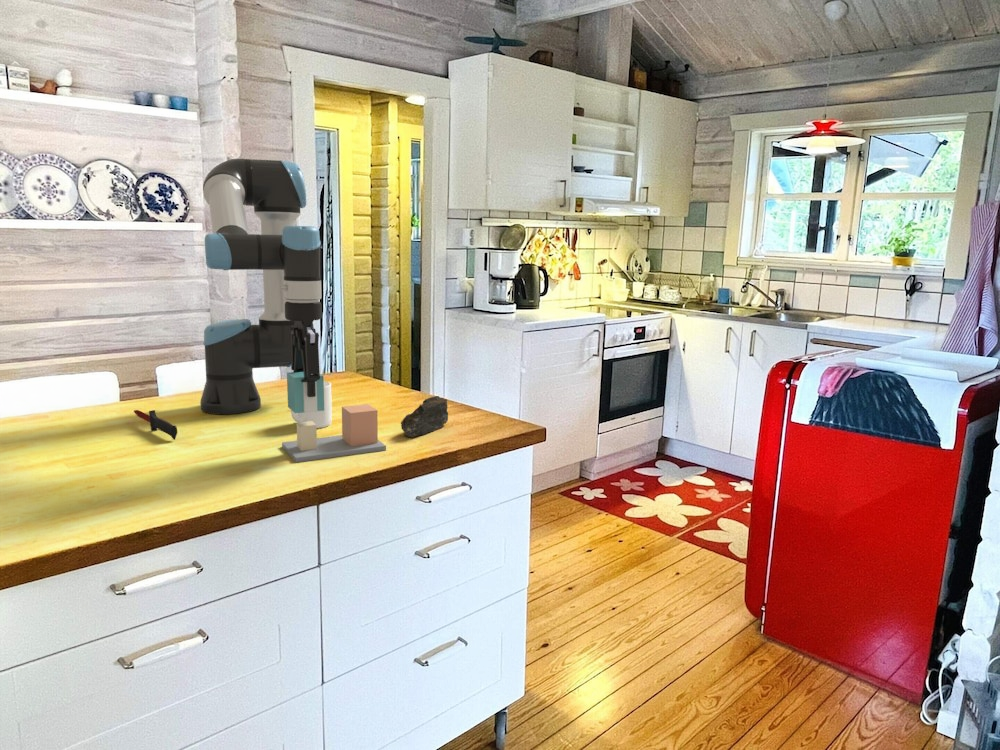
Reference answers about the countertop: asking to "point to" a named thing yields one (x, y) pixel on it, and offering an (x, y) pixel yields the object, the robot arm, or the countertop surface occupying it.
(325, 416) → the mug
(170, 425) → the knife
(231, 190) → the robot arm
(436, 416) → the stone
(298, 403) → the teal upright block
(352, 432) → the grey base with blocks
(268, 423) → the countertop surface
